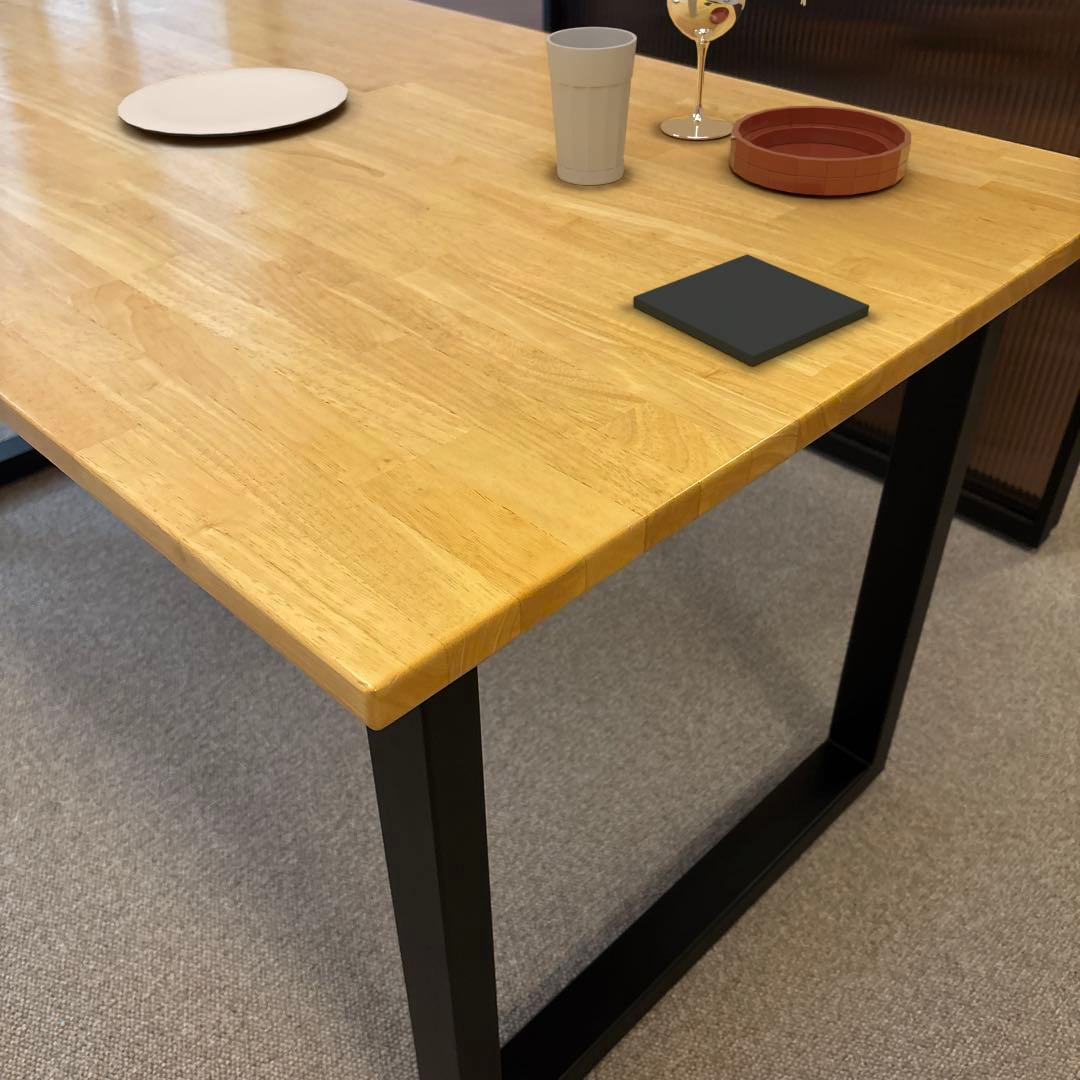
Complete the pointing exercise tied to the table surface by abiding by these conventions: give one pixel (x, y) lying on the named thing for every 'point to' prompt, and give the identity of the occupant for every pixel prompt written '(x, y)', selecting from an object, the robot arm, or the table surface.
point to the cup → (590, 101)
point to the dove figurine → (803, 0)
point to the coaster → (750, 308)
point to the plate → (232, 102)
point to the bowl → (819, 150)
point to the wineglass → (701, 60)
